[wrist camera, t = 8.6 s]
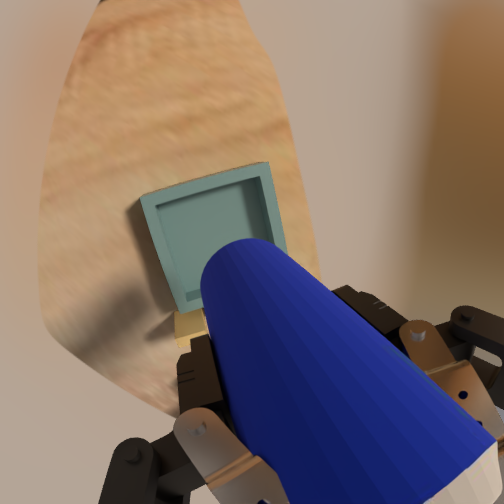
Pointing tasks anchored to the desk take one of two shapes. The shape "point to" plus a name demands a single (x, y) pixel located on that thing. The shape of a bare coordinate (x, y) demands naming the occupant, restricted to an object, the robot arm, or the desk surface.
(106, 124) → the desk surface
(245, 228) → the tray
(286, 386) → the beverage can
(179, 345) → the fuse block
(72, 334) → the desk surface
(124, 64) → the desk surface
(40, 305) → the desk surface
